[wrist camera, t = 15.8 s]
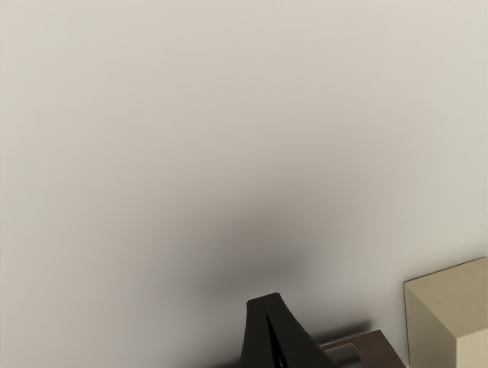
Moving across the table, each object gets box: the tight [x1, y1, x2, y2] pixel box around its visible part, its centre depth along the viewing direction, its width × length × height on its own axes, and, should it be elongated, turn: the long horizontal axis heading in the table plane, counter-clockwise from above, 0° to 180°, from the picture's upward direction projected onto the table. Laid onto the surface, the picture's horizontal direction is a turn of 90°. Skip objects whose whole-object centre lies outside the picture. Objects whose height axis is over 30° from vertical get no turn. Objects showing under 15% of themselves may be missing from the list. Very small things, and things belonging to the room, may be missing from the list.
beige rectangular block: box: [404, 257, 488, 368], centre depth 17 cm, size 5×8×4 cm
